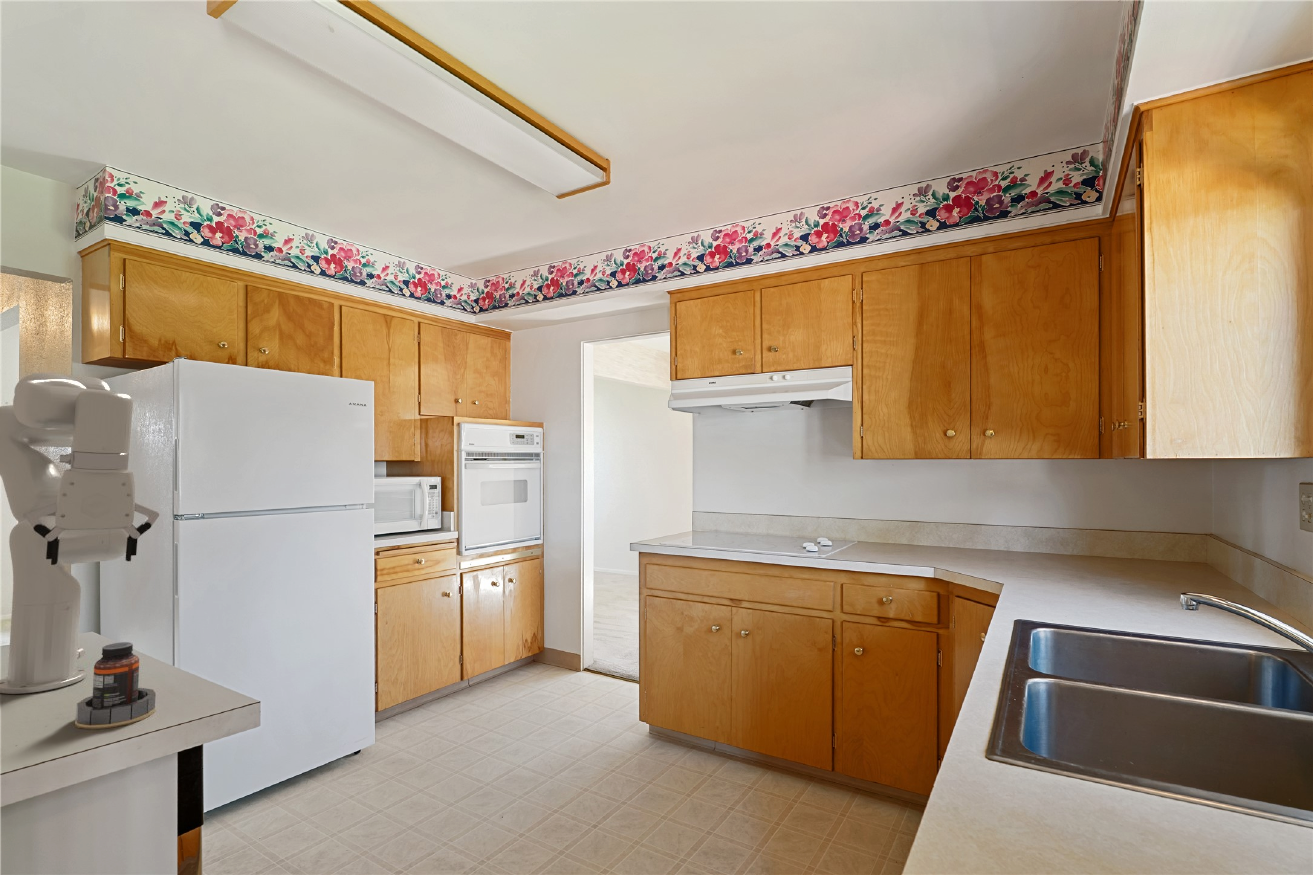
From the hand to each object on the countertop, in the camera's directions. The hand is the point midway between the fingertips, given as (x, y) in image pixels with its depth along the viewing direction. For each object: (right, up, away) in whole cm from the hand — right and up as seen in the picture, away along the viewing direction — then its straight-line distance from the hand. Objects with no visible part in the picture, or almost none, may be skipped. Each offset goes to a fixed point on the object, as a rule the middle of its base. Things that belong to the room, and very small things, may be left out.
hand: (92, 561), depth 112 cm
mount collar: (+6, -26, -3) cm, 26 cm away
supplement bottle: (+6, -25, -3) cm, 26 cm away
